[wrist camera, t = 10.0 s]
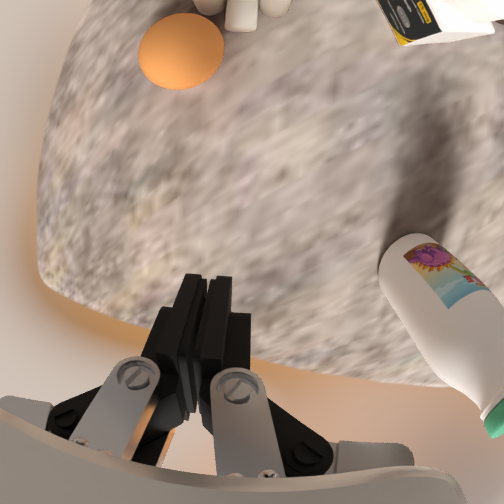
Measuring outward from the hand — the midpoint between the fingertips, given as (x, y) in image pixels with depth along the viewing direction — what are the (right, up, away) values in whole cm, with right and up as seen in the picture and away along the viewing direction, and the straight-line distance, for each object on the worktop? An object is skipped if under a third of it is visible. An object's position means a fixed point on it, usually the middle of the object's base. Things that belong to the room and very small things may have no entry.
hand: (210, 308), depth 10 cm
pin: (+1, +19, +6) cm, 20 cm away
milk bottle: (+18, +1, +16) cm, 24 cm away
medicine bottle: (+16, +24, +5) cm, 29 cm away
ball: (-3, +16, +5) cm, 17 cm away
